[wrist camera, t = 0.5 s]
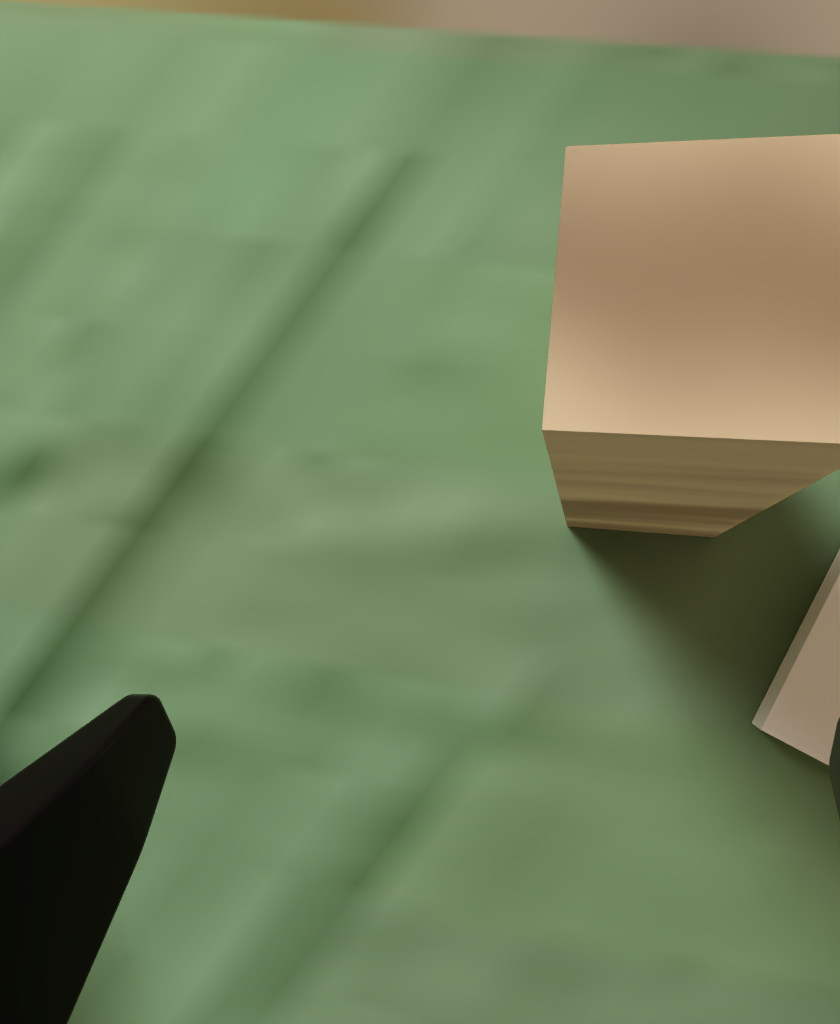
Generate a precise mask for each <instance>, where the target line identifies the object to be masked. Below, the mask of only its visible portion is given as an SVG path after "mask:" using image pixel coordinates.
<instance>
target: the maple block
mask: <svg viewBox="0 0 840 1024" xmlns="http://www.w3.org/2000/svg"><path fill="white" fill-rule="evenodd" d="M542 431H543V435H544V439H545V443H546V446H547V450H548V454H549V458H550V462H551V466H552V469H553V473H554V477H555V481H556V485H557V488H558V492H559V496H560V500H561V504H562V508H563V511H564V515H565V519H566V523H567V526H571V527H584V528H597V529H610V530H623V531H636V532H649V533H662V534H675V535H688V536H701V537H716V536H718V535H720V534H721V533H723V532H725V531H727V530H729V529H731V528H732V527H734V526H736V525H738V524H740V523H741V522H743V521H745V520H747V519H749V518H751V517H752V516H754V515H756V514H758V513H760V512H761V511H763V510H765V509H767V508H769V507H771V506H772V505H774V504H776V503H778V502H780V501H781V500H783V499H785V498H787V497H789V496H791V495H792V494H794V493H796V492H798V491H800V490H801V489H803V488H805V487H807V486H809V485H811V484H812V483H814V482H816V481H818V480H820V479H821V478H823V477H825V476H827V475H829V474H830V473H832V472H834V471H836V470H838V469H840V134H829V135H807V136H785V137H763V138H741V139H719V140H697V141H675V142H653V143H631V144H609V145H587V146H566V154H565V166H564V177H563V189H562V201H561V213H560V225H559V236H558V248H557V260H556V272H555V284H554V296H553V307H552V319H551V331H550V343H549V355H548V367H547V378H546V390H545V402H544V414H543V426H542Z"/></svg>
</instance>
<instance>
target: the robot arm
mask: <svg viewBox="0 0 840 1024" xmlns="http://www.w3.org/2000/svg"><path fill="white" fill-rule="evenodd" d="M175 747H176V735H175V731H174V729H173V727H172V724H171V722H170V720H169V718H168V716H167V713H166V711H165V709H164V707H163V705H162V703H161V701H160V699H159V698H158V697H156V696H155V695H149V694H131V695H128V696H126V697H124V698H122V699H121V700H120V701H118V702H117V703H115V704H114V705H113V706H111V707H110V708H108V709H107V710H106V711H104V712H103V713H101V714H100V715H99V716H97V717H96V718H94V719H93V720H92V721H90V722H89V723H87V724H86V725H85V726H83V727H82V728H80V729H79V730H78V731H76V732H75V733H73V734H72V735H71V736H69V737H68V738H67V739H65V740H64V741H62V742H61V743H60V744H58V745H57V746H55V747H54V748H53V749H51V750H50V751H48V752H47V753H46V754H44V755H43V756H41V757H40V758H39V759H37V760H36V761H34V762H33V763H32V764H30V765H29V766H27V767H26V768H25V769H23V770H22V771H20V772H19V773H18V774H16V775H15V776H13V777H12V778H11V779H9V780H8V781H6V782H5V783H4V784H2V785H1V786H0V1024H67V1023H68V1021H69V1018H70V1016H71V1014H72V1011H73V1009H74V1007H75V1004H76V1002H77V1000H78V997H79V995H80V993H81V991H82V988H83V986H84V984H85V981H86V979H87V977H88V974H89V972H90V970H91V968H92V965H93V963H94V961H95V958H96V956H97V954H98V951H99V949H100V947H101V944H102V942H103V940H104V938H105V935H106V933H107V931H108V928H109V926H110V924H111V921H112V919H113V917H114V915H115V912H116V910H117V908H118V905H119V903H120V901H121V898H122V896H123V894H124V891H125V889H126V887H127V885H128V882H129V880H130V878H131V875H132V873H133V871H134V868H135V866H136V864H137V861H138V859H139V856H140V854H141V851H142V849H143V846H144V843H145V840H146V838H147V835H148V832H149V829H150V826H151V823H152V819H153V816H154V813H155V810H156V807H157V804H158V801H159V798H160V795H161V792H162V789H163V785H164V782H165V779H166V776H167V773H168V770H169V767H170V764H171V761H172V758H173V755H174V751H175ZM829 772H830V779H831V783H832V788H833V792H834V796H835V801H836V805H837V809H838V814H839V818H840V717H839V719H838V722H837V726H836V730H835V735H834V740H833V745H832V749H831V754H830V759H829Z"/></svg>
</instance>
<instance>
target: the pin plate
mask: <svg viewBox="0 0 840 1024" xmlns="http://www.w3.org/2000/svg"><path fill="white" fill-rule="evenodd" d="M839 717H840V549H839V551H838V553H837V555H836V557H835V559H834V561H833V563H832V565H831V567H830V569H829V571H828V572H827V574H826V576H825V578H824V580H823V582H822V584H821V586H820V588H819V590H818V592H817V594H816V596H815V598H814V600H813V602H812V604H811V606H810V608H809V610H808V612H807V614H806V616H805V618H804V620H803V622H802V624H801V626H800V628H799V630H798V632H797V634H796V636H795V638H794V640H793V642H792V644H791V646H790V648H789V650H788V652H787V653H786V655H785V657H784V659H783V661H782V663H781V665H780V667H779V669H778V671H777V673H776V675H775V677H774V679H773V681H772V683H771V685H770V687H769V689H768V691H767V693H766V695H765V697H764V699H763V701H762V703H761V705H760V707H759V709H758V711H757V713H756V715H755V717H754V719H753V721H752V724H753V725H755V726H756V727H758V728H759V729H760V730H762V731H764V732H766V733H768V734H770V735H772V736H773V737H775V738H777V739H779V740H781V741H783V742H785V743H787V744H789V745H791V746H793V747H794V748H796V749H798V750H800V751H802V752H804V753H806V754H808V755H810V756H812V757H813V758H815V759H817V760H819V761H821V762H823V763H825V764H827V765H829V759H830V754H831V749H832V745H833V740H834V735H835V730H836V726H837V722H838V719H839Z"/></svg>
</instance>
